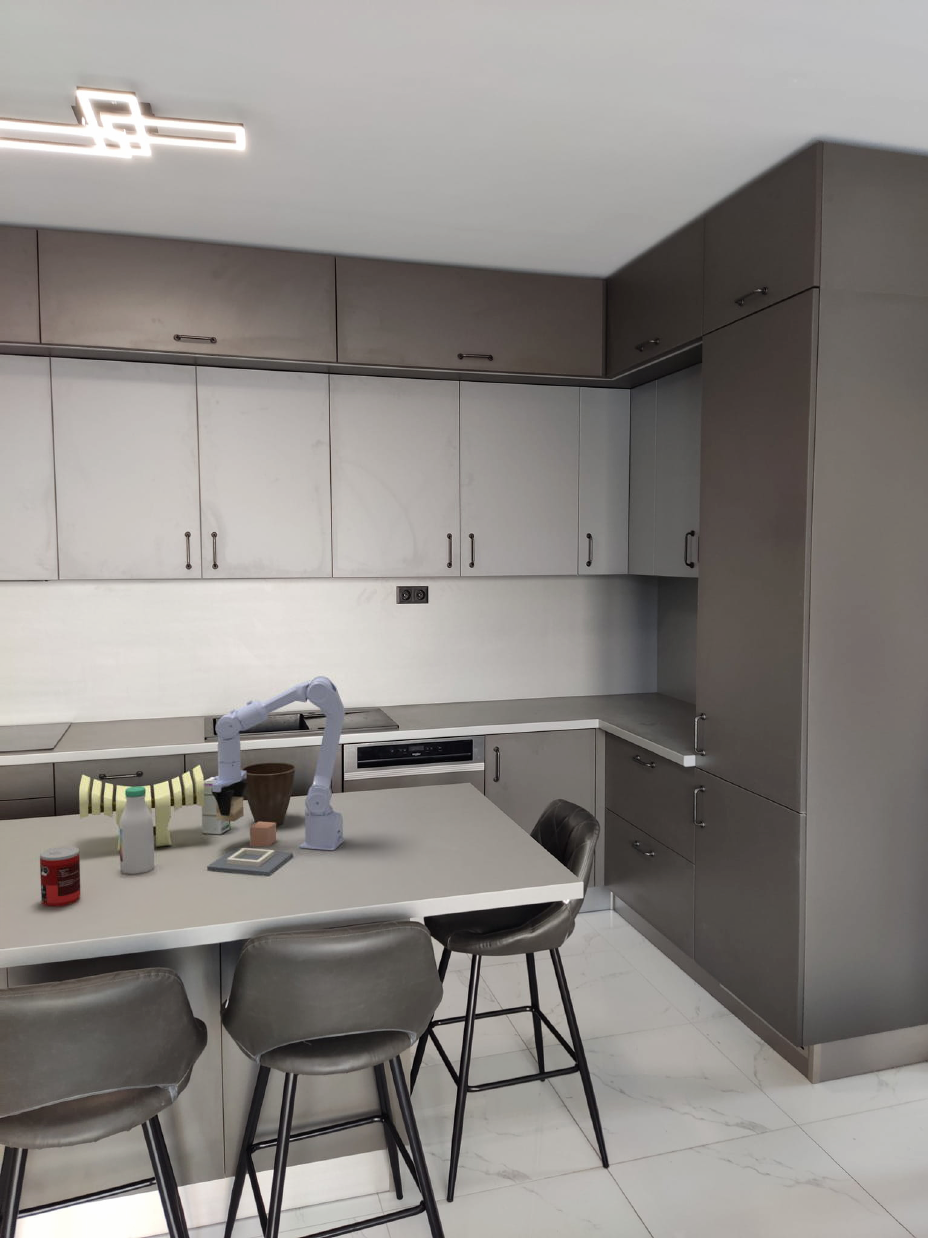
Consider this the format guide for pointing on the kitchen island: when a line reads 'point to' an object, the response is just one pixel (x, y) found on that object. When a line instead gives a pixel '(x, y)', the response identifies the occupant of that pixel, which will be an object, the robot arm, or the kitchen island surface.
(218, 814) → the oak block
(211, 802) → the syrup box
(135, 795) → the milk bottle
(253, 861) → the slate baseplate
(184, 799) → the slatted curved stool
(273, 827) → the terracotta block
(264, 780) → the plant pot
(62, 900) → the canned food
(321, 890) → the kitchen island surface
